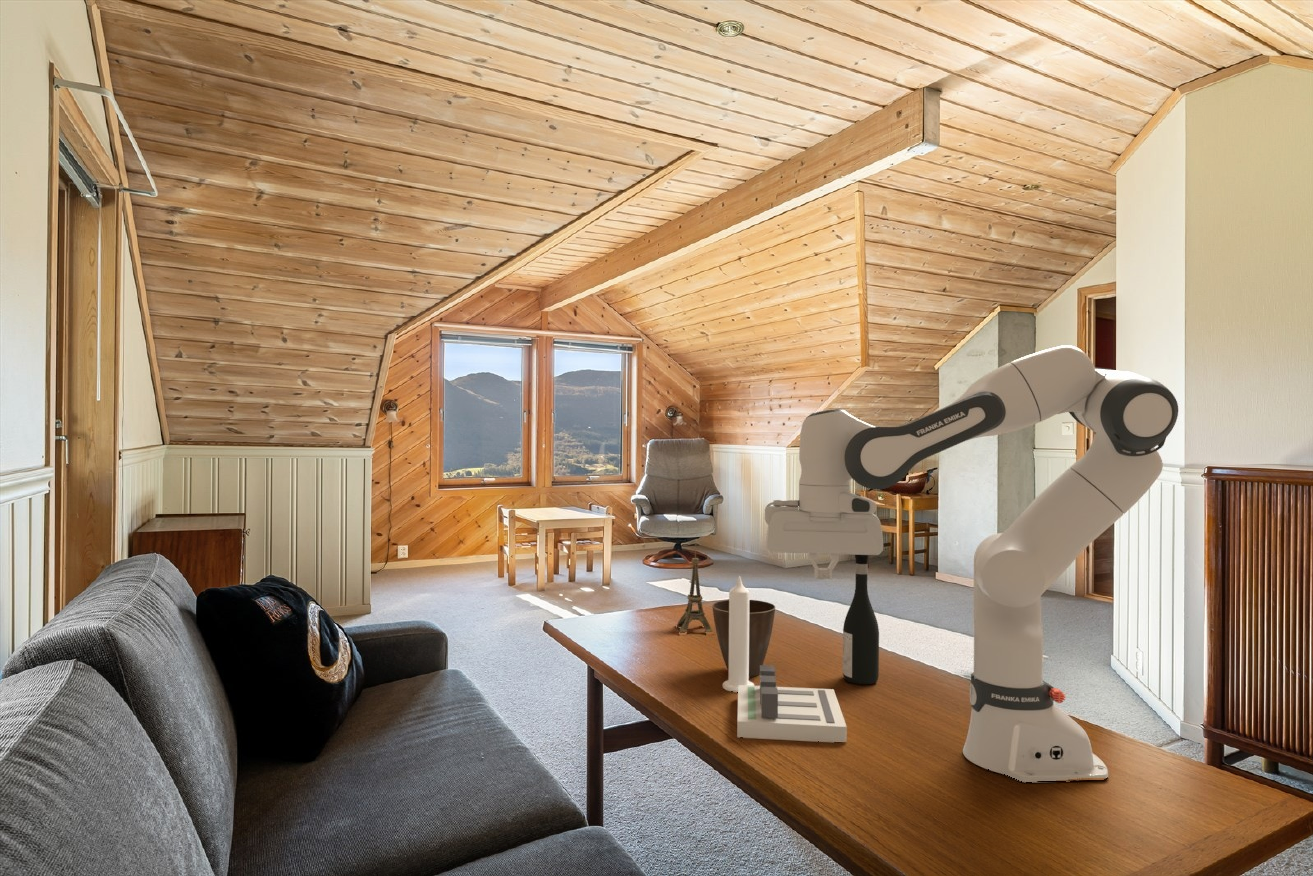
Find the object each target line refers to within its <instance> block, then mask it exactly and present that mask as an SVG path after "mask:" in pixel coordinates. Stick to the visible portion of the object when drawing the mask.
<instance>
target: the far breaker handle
mask: <svg viewBox="0 0 1313 876" xmlns="http://www.w3.org/2000/svg"><path fill="white" fill-rule="evenodd" d="M760 675H762V676H775V677H776V667H775V665H767V664H766V665H765V664H763V665H760V673H759V676H760Z"/></svg>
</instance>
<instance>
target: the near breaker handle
mask: <svg viewBox="0 0 1313 876" xmlns="http://www.w3.org/2000/svg"><path fill="white" fill-rule="evenodd" d="M777 687H778V686H776V687H761V715H762V717H773V718H778V691H777Z"/></svg>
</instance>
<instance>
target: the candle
mask: <svg viewBox="0 0 1313 876" xmlns="http://www.w3.org/2000/svg"><path fill="white" fill-rule="evenodd" d="M743 584H744V583H743V581H742V577H741V576H740V575H738V577H737V581H736V584H735V585H734V586H733V587H732V588H731V589H729V591H728V593H729V594H728V597H729V598H728V600H729V672H728V679H727V680H724V681H723V682H722V688H723V689H724V690H725V691H728V692H731V691H733V692H732V693H737V692H738V685H749V686H755V683H754V682H752V681H751V680H749V679H750V677H749V600H750V590H749V589H748V588H746V587H745V586H744V585H743Z"/></svg>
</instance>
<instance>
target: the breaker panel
mask: <svg viewBox="0 0 1313 876" xmlns="http://www.w3.org/2000/svg"><path fill="white" fill-rule="evenodd" d="M776 687H777V691H778V718H773V717H762V715H761V704H760V685H754V686H749V685H738V693H737V729H736V732H737V733H736V734H737V735H736V737H737V738H740V737H743V739H763V740H781V741H782V740H783V741H800V742H818V741H819V742H820V743H834V742H847V739H848V738H847V737H848V735H847V734H848V730H847V729H848V726H847V724H846V723H847V722H846V721H845V717H844V715H843V712H842V709H841V707H840V704H839V701H838V698H837V695H836V693H835V688H834V689H833V688H832V689H831V688H813V687H811V688H810V687H794V686H793V687H791V686H790V687H787V686H776ZM819 742H818V743H819ZM847 743H848V742H847Z"/></svg>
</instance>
